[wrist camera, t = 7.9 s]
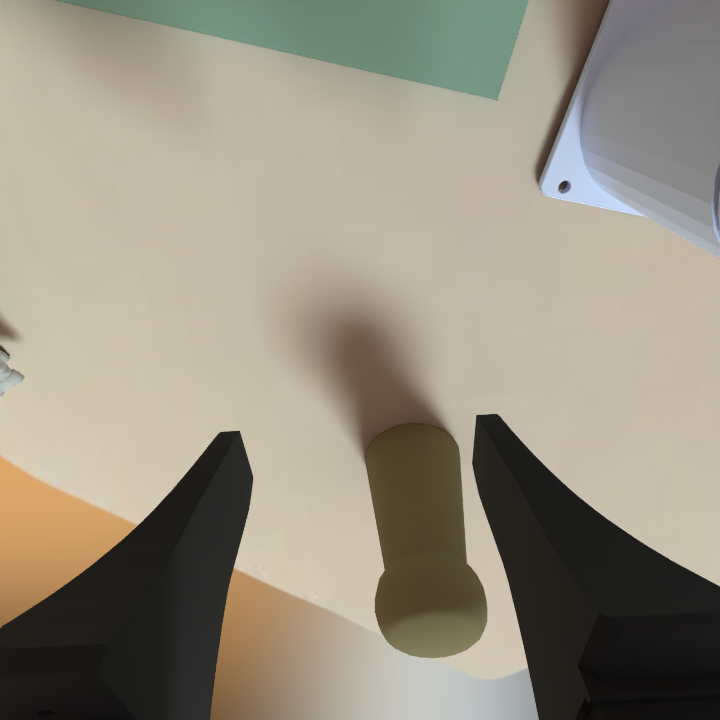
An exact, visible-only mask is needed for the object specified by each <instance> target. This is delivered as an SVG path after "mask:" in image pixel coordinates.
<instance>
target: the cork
mask: <svg viewBox="0 0 720 720" xmlns="http://www.w3.org/2000/svg"><path fill="white" fill-rule="evenodd" d="M365 463H366V468H367V474H368V479H369V485H370V490H371V496H372V501H373V507H374V512H375V518H376V524H377V529H378V535H379V540H380V546H381V551H382V557H383V562H384V568H385V571H384V573H383V574H382V576H381V577H380V579H379V583H378V588H377V592H376V597H375V613H376V617H377V621H378V625H379V627H380V630H381V632H382V634H383V635H384V637H385V639H386V640H387V642H388V643H389V644H390V645H392V646H393V647H394V648H395V649H398V650H400V651H402V652H404V653H406V654H408V655H412V656H417V657H423V658H439V657H447V656H451V655H455V654H458V653H460V652H463V651H465V650H467V649H468V648H470V647H471V646H472V645H474V644H475V643H476V642H477V641H479V640H480V638H481V636H482V634H483V632H484V629H485V626H486V623H487V602H486V597H485V592H484V588H483V586H482V584H481V582H480V580H479V578H478V576H477V574H476V573H475V572H474V571H473V569H472V568H471V567H470V566H469V565H468V564H467V558H466V543H465V527H464V512H463V497H462V481H461V466H460V454H459V447H458V445H457V443H456V442H455V440H454V439H453V437H452V436H450V435H449V434H448V433H446V432H445V431H443V430H442V429H439V428H436V427H434V426H431V425H426V424H413V423H412V424H406V425H400V426H396V427H393V428H391V429H389V430H386V431H384V432H382V433H381V434H380V435H379V436H377V437H376V438H375V439H374V440H373V441H372V442H371V444H370V446H369V447H368V449H367V452H366V458H365Z"/></svg>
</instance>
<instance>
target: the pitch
mask: <svg viewBox="0 0 720 720" xmlns="http://www.w3.org/2000/svg"><path fill="white" fill-rule="evenodd" d="M56 1H61V2H65V3H70V4H74V5H78V6H83V7H87V8H92V9H96V10H101V11H105V12H109V13H114V14H118V15H123V16H127V17H131V18H136V19H140V20H145V21H149V22H154V23H158V24H162V25H167V26H171V27H176V28H180V29H185V30H189V31H193V32H198V33H202V34H207V35H211V36H216V37H220V38H224V39H229V40H233V41H238V42H242V43H247V44H251V45H255V46H260V47H264V48H269V49H273V50H278V51H282V52H286V53H291V54H295V55H300V56H304V57H309V58H313V59H317V60H322V61H326V62H331V63H335V64H340V65H344V66H348V67H353V68H357V69H362V70H366V71H371V72H375V73H379V74H384V75H388V76H393V77H397V78H402V79H406V80H410V81H415V82H419V83H424V84H428V85H432V86H437V87H441V88H446V89H450V90H455V91H459V92H463V93H468V94H472V95H477V96H481V97H486V98H490V99H494V100H497V99H498V96H499V93H500V90H501V86H502V83H503V80H504V77H505V74H506V70H507V67H508V64H509V61H510V58H511V54H512V51H513V48H514V45H515V42H516V39H517V35H518V32H519V29H520V26H521V23H522V19H523V16H524V13H525V10H526V7H527V3H528V0H56Z"/></svg>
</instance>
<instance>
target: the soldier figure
mask: <svg viewBox="0 0 720 720" xmlns="http://www.w3.org/2000/svg"><path fill="white" fill-rule="evenodd" d="M9 359H10V356H8V355H7V354H6V353H4V352H3V351H1V350H0V397H2V396H3V394H4V392H5V390H6V389H7V388H9V387H10V386H12V385H13V386H15V385H17V384H19V383H20V382H22V380H23V379H24V375H22V374H20V372H18V371H16V370H14V369H12V370H11V369H10V368H9V367H8V366H7V364H6V362H7V361H9Z"/></svg>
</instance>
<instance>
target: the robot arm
mask: <svg viewBox="0 0 720 720" xmlns="http://www.w3.org/2000/svg"><path fill="white" fill-rule="evenodd" d="M563 181H567V182H568V184H567V187H566V188H565V189H564V190H563V191H558V186H559V185H560V183H561V182H563ZM538 186H539V190H540V191H541V193H542V194H544V195H546V196H548V197H552V198H557V199H562V200H567V201H572V202H576V203H581V204H586V205H591V206H596V207H601V208H606V209H611V210H615V211H620V212H625V213H630V214H635V215H640V216H645V217H648V218H649V219H651V220H653V221H655V222H656V223H658V224H660V225H662V226H663V227H665V228H667V229H669V230H670V231H672V232H674V233H676V234H677V235H679V236H681V237H682V238H684V239H686V240H688V241H689V242H691V243H693V244H695V245H696V246H698V247H700V248H702V249H703V250H705V251H707V252H708V253H710V254H712V255H714V256H715V257H717V258H719V259H720V0H610V2H609V5H608V7H607V10H606V12H605V15H604V17H603V20H602V22H601V25H600V28H599V30H598V33H597V35H596V38H595V40H594V43H593V45H592V48H591V50H590V53H589V56H588V58H587V61H586V63H585V66H584V68H583V71H582V73H581V76H580V78H579V81H578V84H577V86H576V89H575V91H574V94H573V96H572V99H571V101H570V104H569V106H568V109H567V112H566V114H565V117H564V119H563V122H562V124H561V127H560V129H559V132H558V134H557V137H556V140H555V142H554V145H553V147H552V150H551V152H550V155H549V157H548V160H547V163H546V165H545V168H544V170H543V173H542V175H541V178H540V180H539V185H538ZM472 465H473V470H474V474H475V479H476V484H477V488H478V492H479V496H480V499H481V502H482V505H483V508H484V511H485V514H486V516H487V519H488V522H489V525H490V528H491V531H492V533H493V536H494V539H495V542H496V545H497V548H498V550H499V553H500V556H501V559H502V562H503V565H504V568H505V572H506V575H507V578H508V582H509V586H510V590H511V594H512V598H513V602H514V607H515V611H516V615H517V619H518V624H519V628H520V632H521V636H522V641H523V645H524V650H525V654H526V659H527V664H528V668H529V673H530V678H531V682H532V686H533V692H534V697H535V702H536V707H537V712H538V717H539V720H720V586H718V585H716V584H714V583H712V582H710V581H709V580H707V579H705V578H703V577H701V576H699V575H697V574H695V573H693V572H692V571H690V570H688V569H686V568H684V567H682V566H680V565H678V564H677V563H675V562H673V561H671V560H670V559H668V558H666V557H665V556H663V555H661V554H660V553H658V552H656V551H655V550H653V549H651V548H650V547H648V546H646V545H645V544H643V543H642V542H640V541H639V540H637V539H635V538H634V537H632V536H631V535H630V534H628V533H627V532H625V531H624V530H622V529H621V528H619V527H618V526H616V525H615V524H613V523H612V522H611V521H609V520H608V519H606V518H605V517H604V516H602V515H601V514H600V513H598V512H597V511H596V510H594V509H593V508H592V507H591V506H589V505H588V504H587V503H586V502H584V501H583V500H582V499H581V498H579V497H578V496H577V495H576V494H575V493H574V492H572V491H571V490H570V489H569V488H568V487H567V486H566V485H565V484H563V483H562V482H561V481H560V480H559V479H558V478H557V477H556V476H555V475H554V474H553V473H552V472H551V471H550V470H549V469H548V468H547V467H546V466H545V465H544V464H543V463H542V462H541V461H540V460H539V459H538V458H537V457H536V456H535V455H534V454H533V453H532V452H531V451H530V450H529V449H528V448H527V447H526V446H525V445H524V444H523V442H522V441H521V440H520V439H519V438H518V437H517V436H516V435H515V434H514V432H513V431H512V430H511V429H510V428H509V427H508V425H507V424H506V423H505V422H504V421H503V420H502V418H501V417H500V416H499V415H498V414H488V415H476V426H475V438H474V449H473V460H472ZM252 484H253V474H252V471H251V468H250V464H249V461H248V457H247V454H246V451H245V447H244V444H243V440H242V437H241V434H240V431H229V432H220V433H219V434H218V435H217V436H216V437H215V439H214V440H213V441H212V442H211V444H210V445H209V446H208V447H207V449H206V450H205V451H204V452H203V454H202V455H201V456H200V457H199V459H198V460H197V461H196V462H195V464H194V465H193V466H192V467H191V468H190V470H189V471H188V472H187V473H186V474H185V476H184V477H183V478H182V479H181V480H180V482H179V483H178V484H177V485H176V486H175V487H174V489H173V490H172V491H171V492H170V493H169V494H168V495H167V496H166V497H165V498H164V499H163V501H162V502H161V503H160V504H159V505H158V506H157V507H156V508H155V509H154V510H153V511H152V512H151V513H150V514H149V515H148V516H147V517H146V518H145V519H144V520H143V521H142V522H141V523H140V524H139V525H138V526H137V527H136V528H135V529H134V530H133V531H132V532H131V533H129V535H127V536H126V537H125V538H124V539H123V540H122V541H121V542H119V543H118V544H117V545H116V546H114V547H113V548H112V549H111V550H110V551H109V552H107V553H106V554H105V555H104V556H102V557H101V558H100V559H99V560H98V561H97V562H95V563H94V564H93V565H91V566H90V567H89V568H88V569H86V570H85V571H84V572H82V573H81V574H80V575H78V576H77V577H76V578H74V579H73V580H71V581H70V582H69V583H67V584H66V585H64V586H63V587H62V588H60V589H59V590H57V591H56V592H55V593H53V594H52V595H50V596H49V597H47V598H46V599H44V600H43V601H41V602H40V603H38V604H37V605H35V606H33V607H32V608H30V609H29V610H27V611H26V612H24V613H23V614H21V615H19V616H18V617H16V618H15V619H13V620H12V621H10V622H9V623H7V624H5V625H3V626H2V627H1V629H0V720H210V714H211V704H212V696H213V688H214V679H215V672H216V663H217V656H218V649H219V643H220V636H221V629H222V622H223V616H224V610H225V604H226V598H227V592H228V588H229V583H230V579H231V575H232V572H233V568H234V564H235V560H236V557H237V553H238V549H239V546H240V542H241V538H242V534H243V531H244V527H245V523H246V519H247V515H248V511H249V506H250V499H251V492H252Z"/></svg>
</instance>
